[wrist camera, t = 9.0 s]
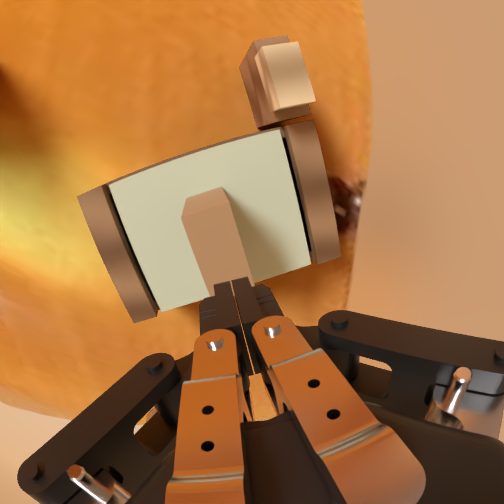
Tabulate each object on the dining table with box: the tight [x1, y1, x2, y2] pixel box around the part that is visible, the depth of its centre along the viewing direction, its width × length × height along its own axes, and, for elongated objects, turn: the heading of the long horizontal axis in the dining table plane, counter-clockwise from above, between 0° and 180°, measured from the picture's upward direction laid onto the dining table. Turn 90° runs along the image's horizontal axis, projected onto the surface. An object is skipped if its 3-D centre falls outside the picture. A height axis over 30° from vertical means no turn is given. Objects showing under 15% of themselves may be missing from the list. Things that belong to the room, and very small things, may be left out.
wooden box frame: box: [77, 36, 342, 323], centre depth 27 cm, size 21×21×9 cm
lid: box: [109, 129, 311, 312], centre depth 22 cm, size 13×15×9 cm
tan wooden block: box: [255, 42, 316, 112], centre depth 20 cm, size 5×3×3 cm, turn 16°
